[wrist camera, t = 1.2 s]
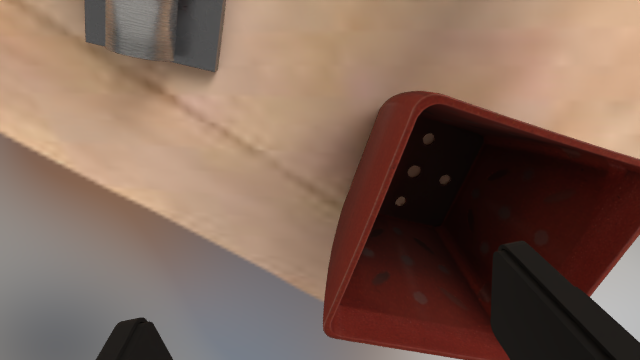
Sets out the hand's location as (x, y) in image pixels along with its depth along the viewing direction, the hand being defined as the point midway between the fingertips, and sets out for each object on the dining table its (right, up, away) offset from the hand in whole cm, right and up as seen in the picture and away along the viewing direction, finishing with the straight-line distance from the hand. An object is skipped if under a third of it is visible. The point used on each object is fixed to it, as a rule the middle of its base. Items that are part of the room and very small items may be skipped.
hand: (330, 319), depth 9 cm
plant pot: (+10, +5, +30) cm, 32 cm away
